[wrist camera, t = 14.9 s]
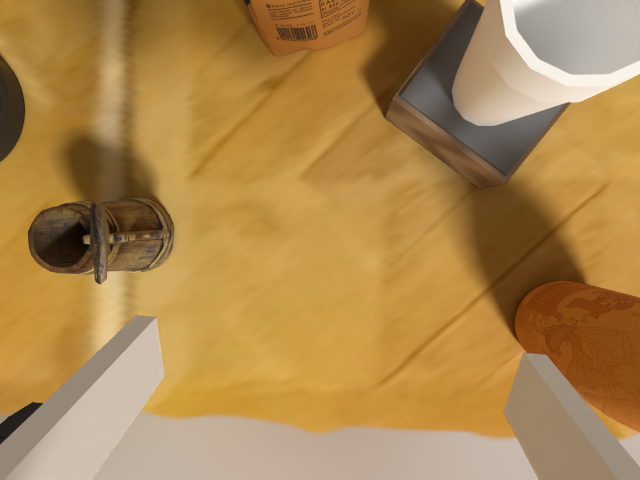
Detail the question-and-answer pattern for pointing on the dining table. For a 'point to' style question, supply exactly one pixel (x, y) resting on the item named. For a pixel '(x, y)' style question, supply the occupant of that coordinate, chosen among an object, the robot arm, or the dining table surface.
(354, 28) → the coffee package
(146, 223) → the wooden mug
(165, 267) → the dining table surface
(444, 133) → the walnut stand
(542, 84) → the foam cup
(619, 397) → the wine bottle
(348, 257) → the dining table surface
